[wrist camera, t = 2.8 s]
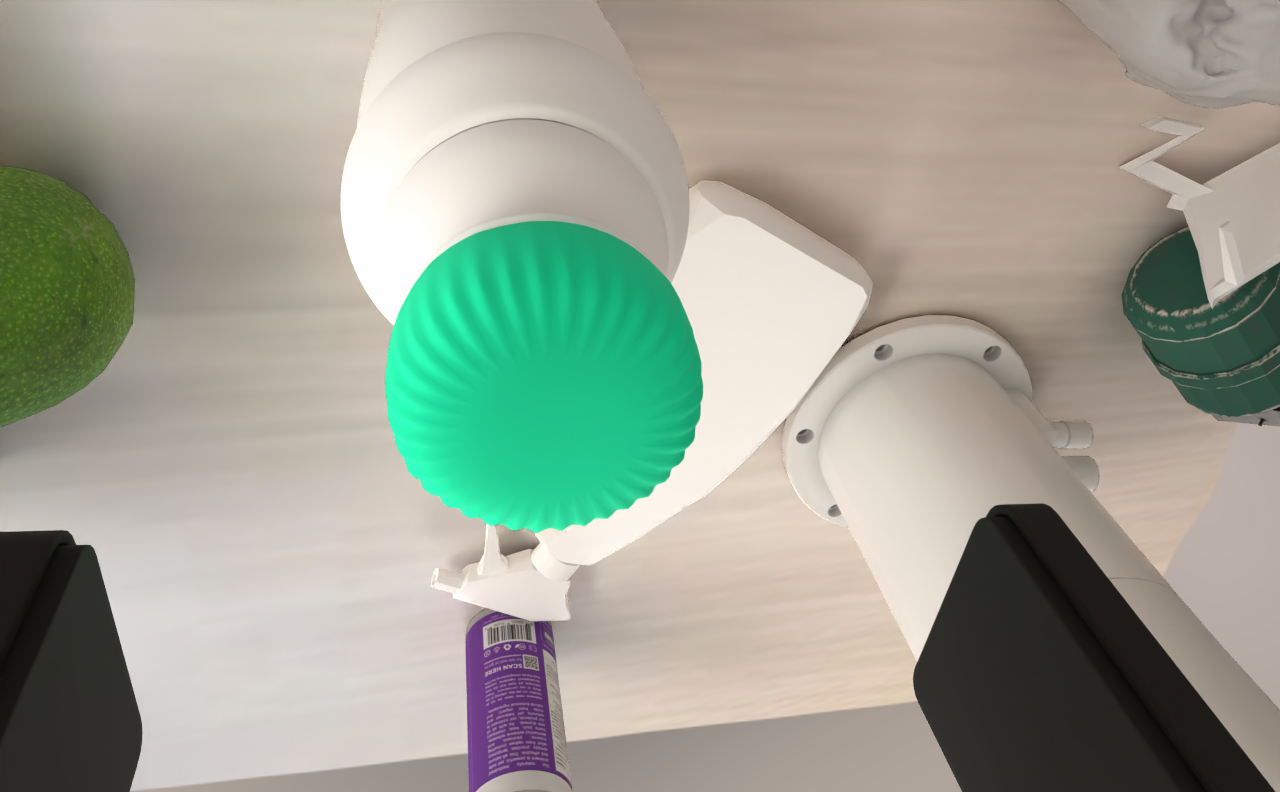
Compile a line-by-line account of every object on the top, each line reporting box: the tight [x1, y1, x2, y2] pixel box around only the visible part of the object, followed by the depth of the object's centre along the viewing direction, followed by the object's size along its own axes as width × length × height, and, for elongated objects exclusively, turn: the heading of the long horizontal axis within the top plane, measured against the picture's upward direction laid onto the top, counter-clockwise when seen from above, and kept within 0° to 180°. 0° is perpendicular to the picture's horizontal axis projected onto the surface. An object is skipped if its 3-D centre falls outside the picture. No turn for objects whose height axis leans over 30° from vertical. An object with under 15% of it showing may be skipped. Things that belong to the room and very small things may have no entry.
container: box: [466, 608, 572, 792], centre depth 46 cm, size 5×5×15 cm
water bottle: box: [341, 0, 703, 533], centre depth 24 cm, size 7×7×25 cm
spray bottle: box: [431, 181, 873, 621], centre depth 44 cm, size 3×11×24 cm
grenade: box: [1122, 227, 1280, 426], centre depth 44 cm, size 7×7×12 cm
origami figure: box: [1119, 116, 1280, 309], centre depth 39 cm, size 12×8×5 cm
